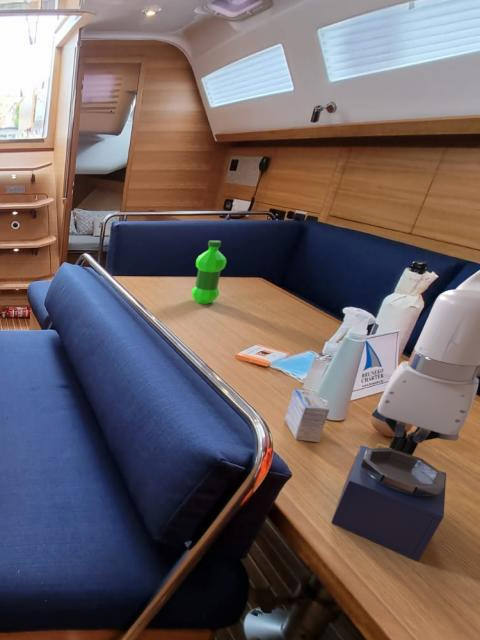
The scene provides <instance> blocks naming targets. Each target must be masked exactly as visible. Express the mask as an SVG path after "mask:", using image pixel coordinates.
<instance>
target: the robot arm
mask: <svg viewBox="0 0 480 640" xmlns="http://www.w3.org/2000/svg"><path fill="white" fill-rule="evenodd" d="M479 377H480V269H479V270H478V271H476V272H475V273H474V274H472V275H471V276H469V277H468V278H467V279H465V280H464V281H462V283H460V284H459V285H458V286H457V287H456V288H455V289H450V290H446V291H443V292H442V293H439V295H438V296H437V298H435V301H434V303H433V305H432V308H431V310H430V312H429V314H428V317H427V319H426V321H425V324H424V326H423V328H422V330H421V332H420V335H419V337H418V339H417V341H416V343H415V346H414V347H413V350H412V352H411V355H410V357H409V359H408V360H407V361H406V360H404V361H402V362H401V363H400V364H398V366H397V367H396V369H395V370H394V372H393V373H392V375H391V376H390V378H389V380H388V382H387V384H385V387H384V390H383V391H382V393H381V396H380V398H379V401H378V405H377V406H375V408H374V409H373V410H372V412H371V415H372V416H373V417H375V418H377V419H379V420H381V421H383V422H386V423H387V424H388V426H389V427H390V428H391V429H392V431H393V432H394V437H392V438H391V441H390V444H389V446H388V447H389V448H391V449H394V450H397V451H400V452H403V453H407V454H410V455H414V453H415V451H416V448H417V447H418V446H419V445H418V444H421V443H423V442H424V441H430V440H431V441H432V440H434V439H440V440H445V441H451V442H452V441H453V442H456V441H459V436H460V432H461V430H463V427H464V426H465V423H466V421H467V419H468V417H469V414H470V412H471V409H472V407H473V405H474V401H475V397H476V395H477V392H478V388H479V383H480V379H479ZM406 423H407V424H410V425H413V426H414V427H416V428H415V430H414V431H412V432H410V433H408V432H407V431H406V430H405V426H406ZM413 426H412V427H413Z"/></svg>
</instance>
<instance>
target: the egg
mask: <svg viewBox="0 0 480 640" xmlns="http://www.w3.org/2000/svg"><path fill="white" fill-rule="evenodd" d="M370 423H371V426H372V427H373V429H374V430H375V431H376V432H378V433H379V434H381V435H383V436H385V437H392V438H393V437H394V432H393V431H392V429H391V428H390V427H389V426H388V424H387V423H386V422H383V421H381V420H379V419H377V418H375V417H373V416H372V414H371V415H370ZM412 428H413V425H410V424H407V423H406V426H405V430H406V431H407V433H409V432H410V431H411V430H412Z"/></svg>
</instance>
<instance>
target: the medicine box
mask: <svg viewBox="0 0 480 640" xmlns="http://www.w3.org/2000/svg"><path fill="white" fill-rule="evenodd" d="M329 412H330V409H329V407H328V406H327V405H326V403H325V402H324V400H323V399H322V398H321V397H320V395H319V394H318V393H317V391H314V390H306V389H293V391H292V393H291V396H290V401H289V404H288V405H287V410H286V413H285V417H284V421H285V423H286V424H287V426H288V428H289V430H290V432H291V434H292V435H293V437H294V439H295V440H297V441H298V440H299V441H303V442H310V443H311V442H312V443H319V442H320V439H321V436H322V434H323V432H324V431H323V430H324V427H325V425H326V422H327V419H328V416H329Z"/></svg>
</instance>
